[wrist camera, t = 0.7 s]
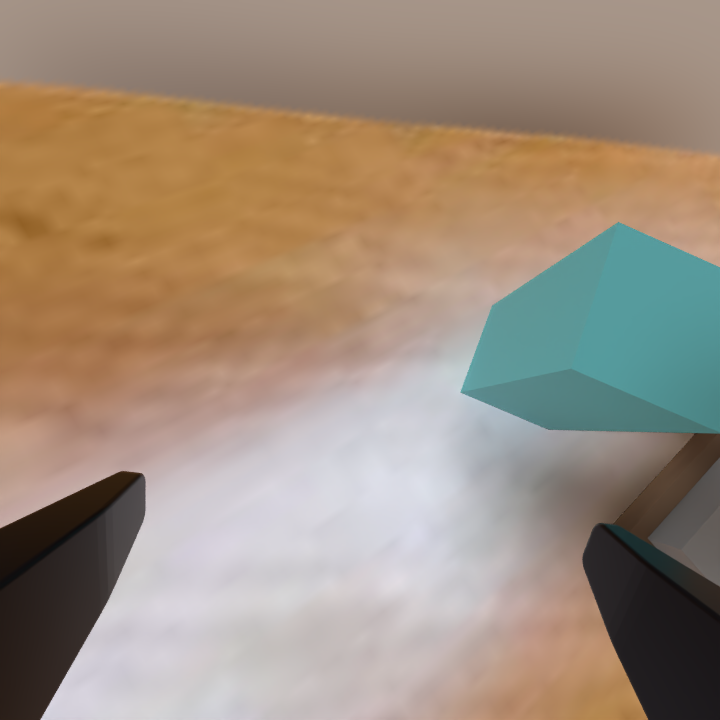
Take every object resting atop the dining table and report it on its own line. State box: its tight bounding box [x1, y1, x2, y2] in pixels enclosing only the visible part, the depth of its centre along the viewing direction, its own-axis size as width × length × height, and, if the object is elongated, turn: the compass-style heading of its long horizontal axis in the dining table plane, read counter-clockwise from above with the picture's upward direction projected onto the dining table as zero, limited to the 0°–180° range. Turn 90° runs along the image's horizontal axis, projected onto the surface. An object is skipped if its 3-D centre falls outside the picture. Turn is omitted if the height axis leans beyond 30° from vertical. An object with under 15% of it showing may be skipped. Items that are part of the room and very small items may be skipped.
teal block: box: [461, 222, 720, 434], centre depth 19 cm, size 5×5×10 cm
